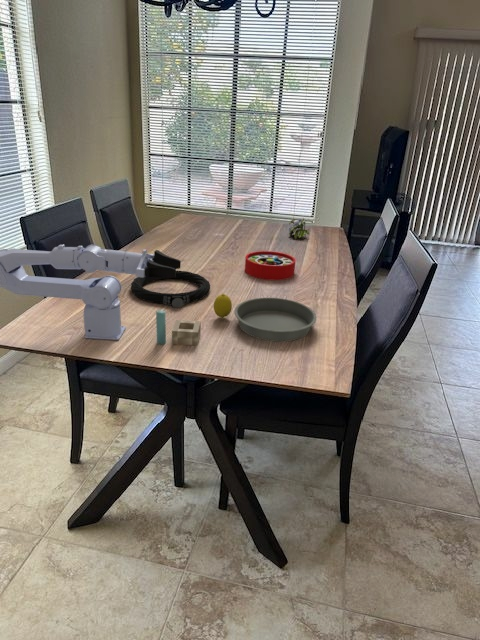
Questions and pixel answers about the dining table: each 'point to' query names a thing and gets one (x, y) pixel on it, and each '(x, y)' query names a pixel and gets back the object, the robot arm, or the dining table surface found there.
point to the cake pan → (275, 318)
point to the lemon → (222, 305)
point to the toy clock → (269, 265)
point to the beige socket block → (186, 332)
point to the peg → (161, 327)
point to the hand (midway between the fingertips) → (178, 268)
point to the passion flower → (298, 225)
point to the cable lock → (169, 298)
